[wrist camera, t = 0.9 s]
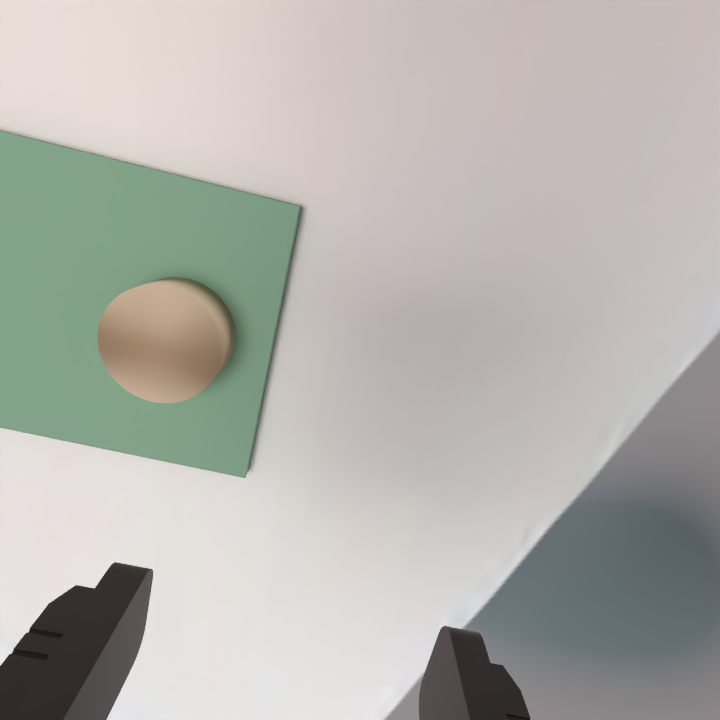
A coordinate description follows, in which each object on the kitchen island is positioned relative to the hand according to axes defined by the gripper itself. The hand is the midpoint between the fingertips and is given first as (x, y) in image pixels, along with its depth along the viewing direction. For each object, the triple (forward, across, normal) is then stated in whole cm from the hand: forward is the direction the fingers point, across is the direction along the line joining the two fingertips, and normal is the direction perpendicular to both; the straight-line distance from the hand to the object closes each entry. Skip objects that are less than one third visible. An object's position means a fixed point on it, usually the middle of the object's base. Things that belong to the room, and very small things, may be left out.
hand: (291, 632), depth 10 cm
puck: (+19, +8, 0) cm, 20 cm away
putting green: (+20, +16, 0) cm, 26 cm away
